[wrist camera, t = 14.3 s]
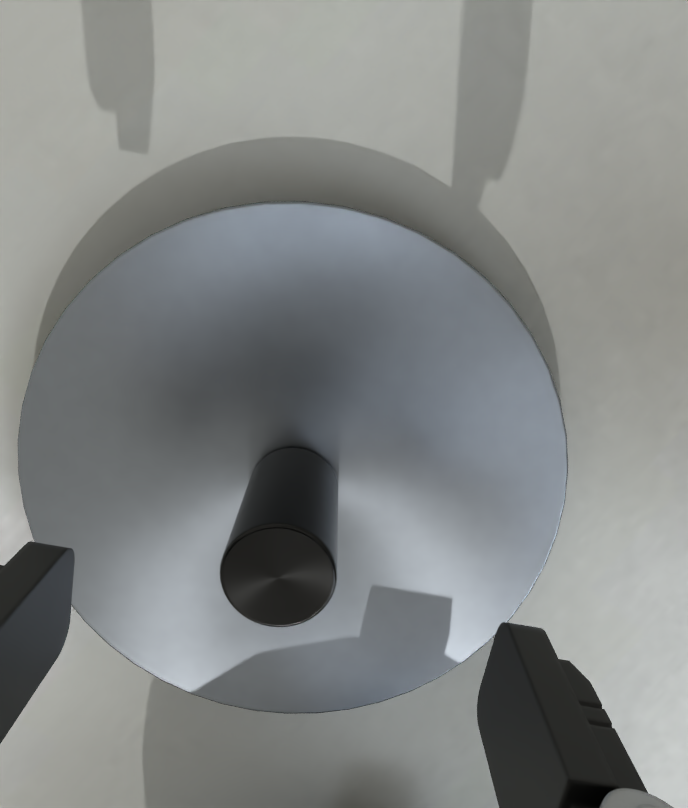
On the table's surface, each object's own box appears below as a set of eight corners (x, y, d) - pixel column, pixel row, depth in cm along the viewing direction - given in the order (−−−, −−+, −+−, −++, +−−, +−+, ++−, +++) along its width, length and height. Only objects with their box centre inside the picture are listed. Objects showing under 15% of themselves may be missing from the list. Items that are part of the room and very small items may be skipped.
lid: (621, 262, 17) (755, 284, 11) (482, 718, 21) (532, 896, 15) (54, 149, 16) (-94, 113, 11) (23, 647, 20) (-96, 808, 15)
